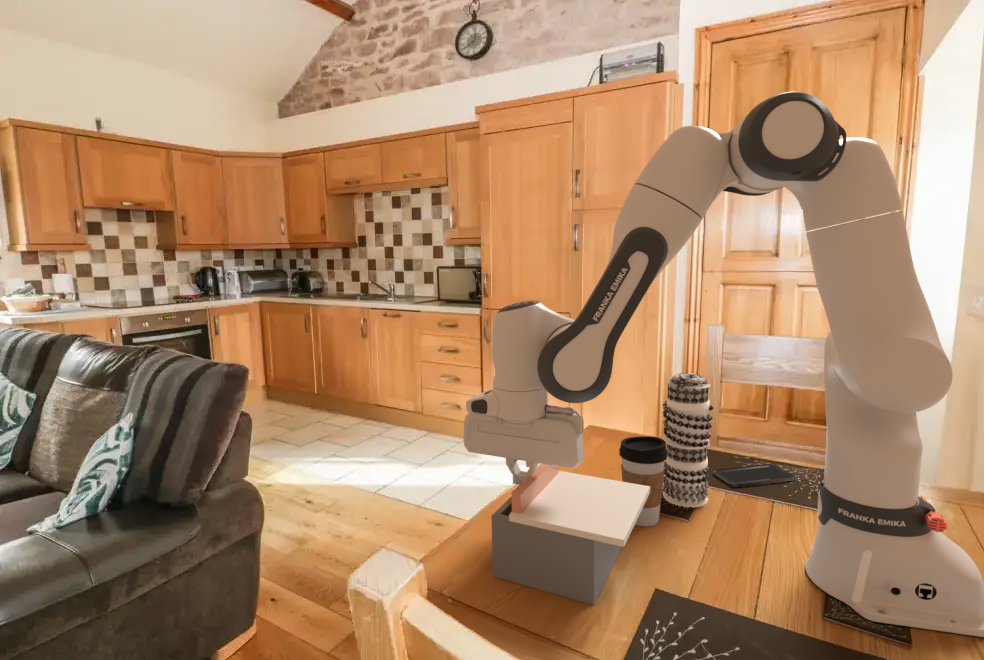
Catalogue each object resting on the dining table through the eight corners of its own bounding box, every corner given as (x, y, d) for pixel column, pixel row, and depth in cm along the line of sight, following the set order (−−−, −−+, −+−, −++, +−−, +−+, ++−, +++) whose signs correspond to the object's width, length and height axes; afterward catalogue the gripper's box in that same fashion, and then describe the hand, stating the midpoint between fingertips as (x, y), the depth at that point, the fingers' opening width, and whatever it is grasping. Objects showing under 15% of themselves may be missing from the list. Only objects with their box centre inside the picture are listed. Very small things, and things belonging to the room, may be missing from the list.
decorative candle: (673, 483, 113) (676, 368, 109) (717, 496, 106) (721, 374, 103) (652, 498, 106) (654, 376, 103) (697, 513, 100) (701, 383, 96)
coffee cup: (668, 532, 94) (670, 450, 91) (619, 528, 95) (619, 448, 93) (663, 509, 102) (664, 434, 100) (618, 506, 103) (618, 432, 101)
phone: (711, 470, 117) (772, 463, 120) (711, 475, 117) (771, 468, 120) (733, 485, 110) (797, 477, 112) (733, 490, 110) (797, 482, 112)
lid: (650, 492, 87) (650, 468, 86) (623, 547, 71) (624, 519, 70) (552, 475, 95) (552, 453, 94) (509, 520, 79) (508, 495, 78)
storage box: (623, 545, 90) (623, 489, 88) (594, 605, 75) (594, 538, 73) (535, 525, 97) (534, 473, 96) (493, 576, 82) (491, 515, 81)
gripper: (589, 403, 83) (590, 487, 85) (475, 392, 93) (478, 467, 95) (576, 414, 78) (577, 503, 80) (457, 401, 87) (460, 481, 89)
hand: (522, 483), depth 87 cm, fingers closed
